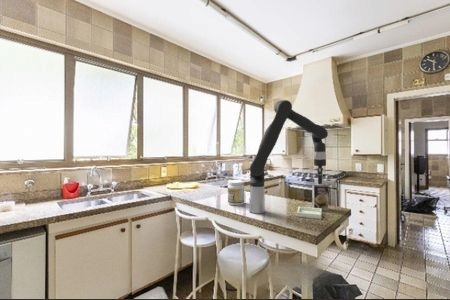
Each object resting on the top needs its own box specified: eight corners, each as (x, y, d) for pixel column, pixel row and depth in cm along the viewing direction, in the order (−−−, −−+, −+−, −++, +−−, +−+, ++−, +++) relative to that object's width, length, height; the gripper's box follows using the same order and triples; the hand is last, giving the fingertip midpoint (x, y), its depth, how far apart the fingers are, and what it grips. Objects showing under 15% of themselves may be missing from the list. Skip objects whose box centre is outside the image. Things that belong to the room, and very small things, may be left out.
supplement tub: (224, 203, 176) (224, 181, 176) (235, 200, 185) (235, 179, 184) (236, 207, 168) (236, 183, 167) (247, 203, 176) (247, 181, 176)
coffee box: (314, 210, 156) (314, 186, 155) (311, 207, 162) (311, 184, 162) (328, 211, 155) (328, 186, 154) (325, 208, 161) (325, 184, 161)
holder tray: (296, 216, 144) (296, 212, 144) (298, 210, 157) (298, 206, 157) (321, 219, 139) (321, 214, 139) (321, 212, 152) (321, 208, 152)
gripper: (314, 157, 165) (314, 180, 166) (313, 159, 152) (313, 184, 153) (326, 157, 162) (326, 181, 163) (326, 159, 149) (326, 184, 150)
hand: (320, 182), depth 158 cm, fingers open, 8 cm apart
